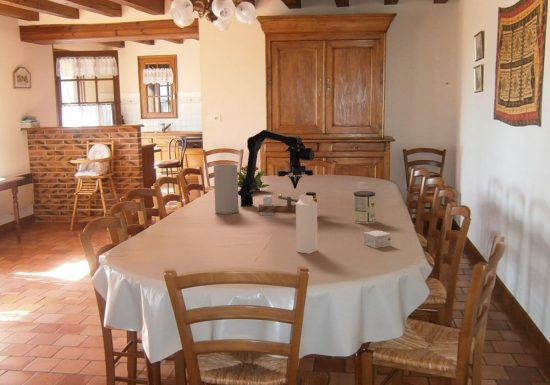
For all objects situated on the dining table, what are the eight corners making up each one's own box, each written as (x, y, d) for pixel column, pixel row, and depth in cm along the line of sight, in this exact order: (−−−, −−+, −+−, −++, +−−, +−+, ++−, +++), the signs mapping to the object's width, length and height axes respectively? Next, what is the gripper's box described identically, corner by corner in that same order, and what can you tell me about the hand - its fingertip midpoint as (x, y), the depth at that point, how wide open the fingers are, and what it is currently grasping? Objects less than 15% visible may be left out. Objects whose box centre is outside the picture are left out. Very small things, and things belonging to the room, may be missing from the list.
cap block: (263, 206, 286) (263, 196, 285) (263, 204, 290) (263, 195, 289) (272, 205, 286) (271, 196, 285) (271, 204, 290) (271, 195, 290)
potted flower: (278, 190, 358) (277, 164, 355) (258, 195, 338) (257, 168, 335) (247, 187, 371) (247, 162, 368) (226, 192, 351) (226, 166, 348)
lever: (278, 198, 286) (278, 194, 286) (277, 197, 289) (278, 193, 288) (299, 202, 287) (300, 198, 287) (299, 201, 290) (300, 197, 289)
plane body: (258, 212, 286) (258, 199, 284) (258, 209, 291) (258, 197, 290) (296, 211, 286) (295, 198, 285) (295, 209, 292) (295, 196, 291)
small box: (375, 248, 210) (375, 236, 209) (363, 244, 217) (363, 232, 216) (390, 246, 214) (391, 233, 213) (378, 241, 220) (378, 229, 220)
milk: (304, 248, 212) (304, 193, 209) (317, 250, 209) (317, 194, 205) (296, 251, 207) (295, 195, 204) (309, 254, 204) (308, 197, 200)
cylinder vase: (242, 210, 290) (241, 164, 286) (231, 215, 279) (229, 167, 275) (222, 209, 295) (221, 164, 291) (210, 213, 284) (209, 166, 280)
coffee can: (355, 218, 265) (355, 190, 262) (376, 219, 261) (376, 191, 259) (351, 223, 255) (351, 194, 253) (373, 224, 252) (373, 194, 249)
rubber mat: (259, 215, 276) (259, 214, 276) (259, 212, 283) (259, 212, 283) (273, 215, 276) (273, 214, 276) (272, 212, 283) (272, 211, 283)
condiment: (320, 216, 273) (320, 192, 271) (307, 218, 268) (306, 194, 266) (311, 213, 279) (311, 191, 277) (298, 215, 274) (298, 192, 272)
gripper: (280, 161, 275) (280, 191, 278) (315, 161, 278) (315, 190, 281) (276, 159, 286) (276, 188, 289) (310, 158, 289) (310, 187, 292)
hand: (294, 188), depth 287 cm, fingers closed
